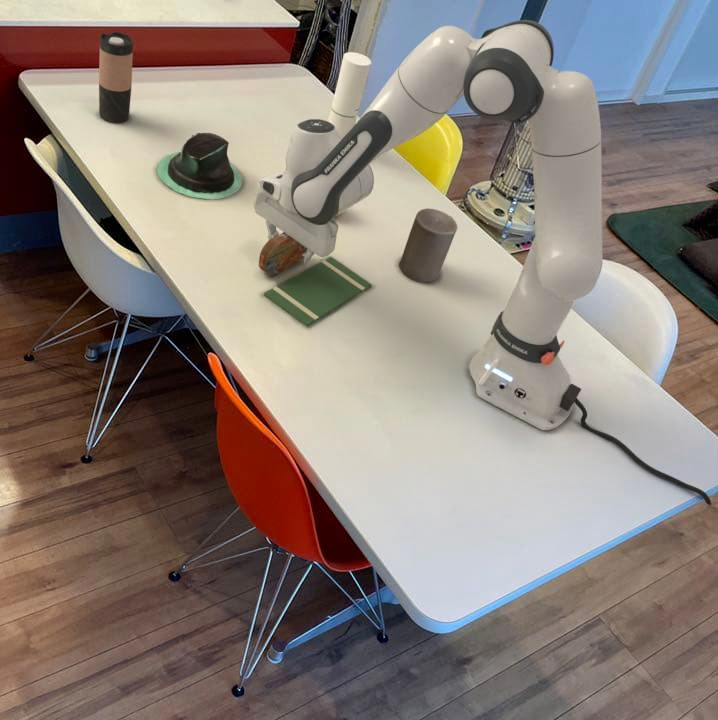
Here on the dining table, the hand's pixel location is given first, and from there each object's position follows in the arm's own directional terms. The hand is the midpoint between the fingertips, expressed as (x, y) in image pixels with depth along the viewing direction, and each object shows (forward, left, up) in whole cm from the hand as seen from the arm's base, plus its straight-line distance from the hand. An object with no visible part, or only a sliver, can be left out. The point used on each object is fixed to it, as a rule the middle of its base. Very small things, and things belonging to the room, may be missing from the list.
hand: (288, 250), depth 166 cm
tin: (+1, 0, -4) cm, 5 cm away
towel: (-10, 0, -4) cm, 11 cm away
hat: (+36, -9, -4) cm, 37 cm away
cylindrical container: (+28, -52, -4) cm, 59 cm away
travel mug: (+67, -9, -4) cm, 68 cm away
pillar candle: (-19, -26, -4) cm, 33 cm away
